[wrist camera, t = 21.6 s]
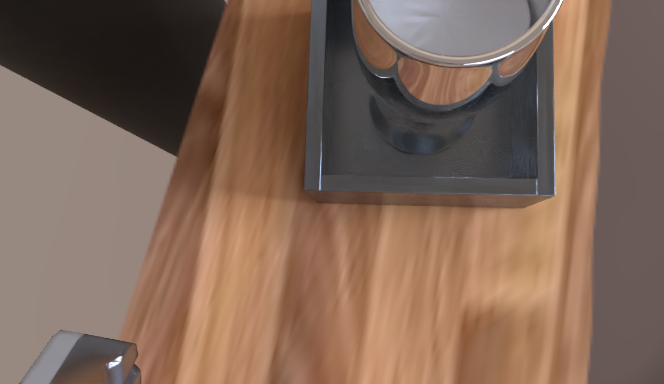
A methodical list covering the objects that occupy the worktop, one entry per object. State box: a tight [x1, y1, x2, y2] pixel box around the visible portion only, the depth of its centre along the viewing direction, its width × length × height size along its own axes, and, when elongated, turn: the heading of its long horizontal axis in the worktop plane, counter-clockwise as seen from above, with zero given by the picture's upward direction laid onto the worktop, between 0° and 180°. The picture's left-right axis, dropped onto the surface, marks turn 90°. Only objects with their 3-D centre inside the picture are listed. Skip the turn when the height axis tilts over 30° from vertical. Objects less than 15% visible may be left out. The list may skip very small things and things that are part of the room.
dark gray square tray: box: [304, 0, 555, 208], centre depth 30 cm, size 12×12×6 cm
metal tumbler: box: [350, 0, 563, 154], centre depth 24 cm, size 7×7×15 cm
